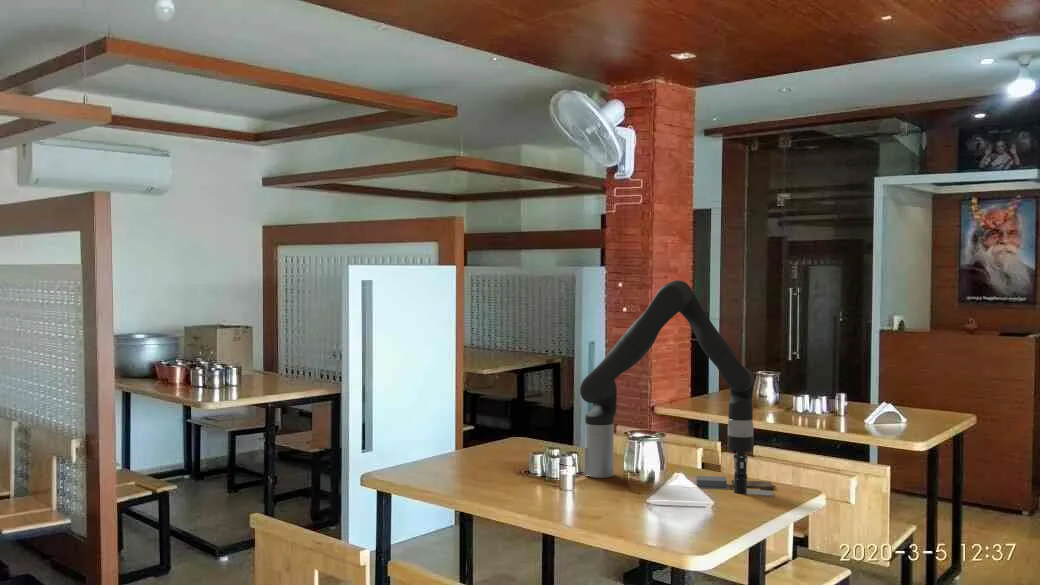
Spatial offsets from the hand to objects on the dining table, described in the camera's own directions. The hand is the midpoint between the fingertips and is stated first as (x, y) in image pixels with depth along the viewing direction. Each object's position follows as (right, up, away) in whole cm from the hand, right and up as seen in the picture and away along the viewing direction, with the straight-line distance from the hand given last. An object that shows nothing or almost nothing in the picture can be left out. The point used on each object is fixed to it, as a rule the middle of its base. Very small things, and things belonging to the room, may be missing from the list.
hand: (740, 490), depth 268 cm
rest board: (+6, 0, +8) cm, 10 cm away
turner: (+4, -1, -1) cm, 4 cm away
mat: (-9, -1, +9) cm, 12 cm away
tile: (-11, +1, +9) cm, 15 cm away
